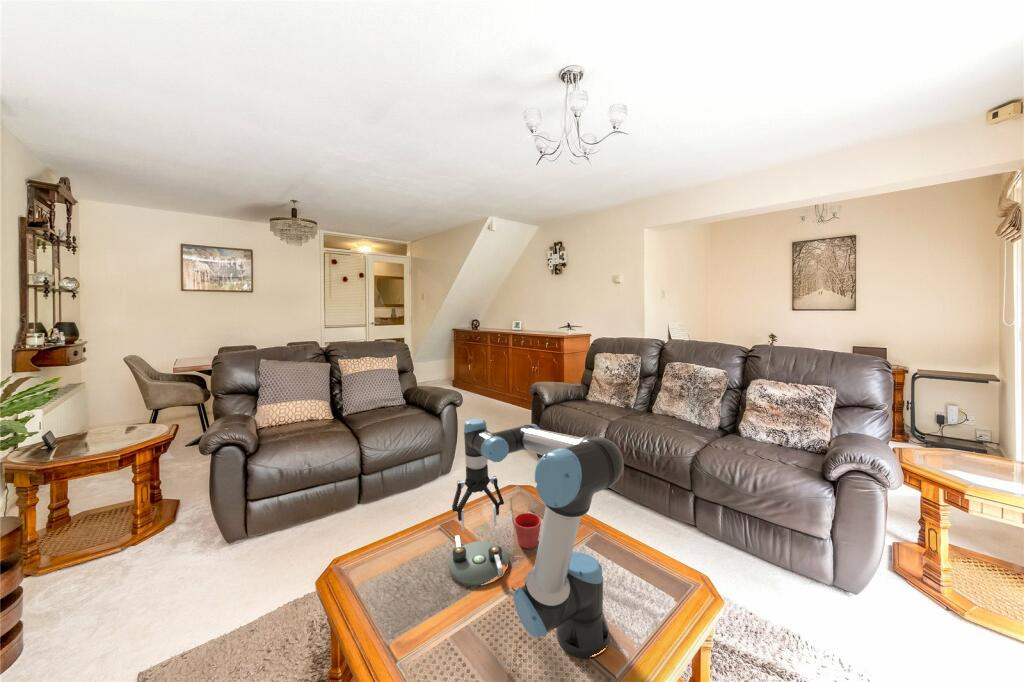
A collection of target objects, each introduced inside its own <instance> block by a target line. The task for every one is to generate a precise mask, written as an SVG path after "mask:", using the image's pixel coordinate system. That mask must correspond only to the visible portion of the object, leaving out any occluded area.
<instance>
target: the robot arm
mask: <svg viewBox="0 0 1024 682" xmlns="http://www.w3.org/2000/svg"><path fill="white" fill-rule="evenodd" d="M463 425H464V427H463V435H464V437H463V439H464V453H465V454H464V455H465V456H464V458H465V459H464V462H465V480H463V481H461V480H457V481H456V486H457V487H456V491H455V494H454V499H453V501H452V505H451V509H452V512H454V513H455V512H457V520H458V522H461V531H462V532H465V513H464V507H465V506H466V504H467V503H468V500H469V498H470V497H471V496H472V495H473V494H474V493H477V492H479V493H483V492H484V493H485V494H486V495H487V496H488V498H489V500H490V501H491V502H492V523H493V526H494V527H496V526H497V525H498V523H497V516H499V515H500V506H502V505H504V504H505V500H504V498H503V496H502V493H501V491H500V487H499V485H498V477H497V476H496V475H493V476H492V477H489V465H488V462H489V461H491V462H493V463H501V462H502V461H503V460H505V458H507V456H508V455H509V454H512V453H516V452H519V451H527V452H530V453H531V452H532V453H534V454H537V455H541V456H542V457H540V459H539V460H538V462H537V464H536V466H535V471H534V483H536V486H535V489H536V492H537V494H538V496H539V498H540V499H541V500H542V502H543V505H544V506H545V509H544V515H543V519H542V524H541V528H540V533H539V538H538V544H537V551H536V557H535V560H534V561H535V562H534V566H533V567H531V568H530V569H529V570H528V572H527V574H526V577H525V581H524V585H523V586H521V587H520V586H518V588H517V589H516V590H515V591H514V593H513V604H514V607H515V610H516V613H517V616H518V619H519V620H520V623H521V625H522V626H523V627H524V630H526V632H527V633H528V634H529V635H530V636H531V637H533V638H536V639H537V638H541V637H542V636H544V635H548V633H550V632H552V631H553V630H556V632H555V634H556V639H557V641H558V644H559V645H560V647H561V648H562V649H563V650H564V651H565V652H567V653H568V654H570V655H571V656H573V657H577V658H579V659H580V658H581V659H590V658H589V657H590V656H592V655H594V654H597V653H599V652H600V651H601V650H603V649H604V648H606V646H607V645H608V646H609V644H610V630H609V625H608V623H607V620H606V617H605V613H604V611H603V609H604V576H603V568H602V565H601V563H600V562H599V561H598V560H597V559H596V558H595V557H594V556H592V555H590V554H588V553H585V552H581V551H574V548H575V547H574V546H575V543H576V539H577V535H578V530H579V526H580V521H581V517H583V516H585V515H587V514H588V512H589V510H590V508H591V504H592V501H593V500H592V499H593V496H594V494H596V493H599V492H601V491H603V490H605V489H608V488H611V487H612V486H614V485H615V484H616V483H617V482H618V481H619V479H620V478H621V476H622V475H623V471H624V467H625V466H624V462H625V461H624V458H623V454H622V452H621V450H620V448H619V447H618V445H617V444H616V443H615V442H614V441H612V440H610V439H608V438H605V437H601V436H597V435H593V434H592V435H591V434H590V435H585V436H582V437H580V436H575V435H570V434H565V433H560V432H555V431H549V430H544V429H541V428H540V427H539V426H538V425H537V424H535V423H531V424H524V425H522V426H517V427H512V428H509V429H504V430H501V431H500V430H499V431H497V432H491V431H489V430H488V426H487V421H485V419H482V418H472V419H469V420H466V421H465V422H464V423H463ZM488 460H489V461H488ZM490 483H491V484H492V485H493V487H494V489H495V492H496V495H497V498H498V500H497V498H496V497H495V496H494V494H493V492H491V490H490V488H489V487H488V485H489V484H490ZM464 486H466V491H465V493H464V494H463V496H462V498H461V500H460V497H461V494H462V489H463V488H464Z"/></svg>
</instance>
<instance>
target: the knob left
mask: <svg viewBox="0 0 1024 682" xmlns="http://www.w3.org/2000/svg"><path fill="white" fill-rule="evenodd" d="M454 537H455V538H454V540H455V547H454V548H453V549H452V554H453V561H454V562H456V563H461V562H464V561H465V560H466V549H465V548H464V547H461V538H460V534H458V535H455V536H454Z"/></svg>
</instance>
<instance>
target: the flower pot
mask: <svg viewBox="0 0 1024 682" xmlns="http://www.w3.org/2000/svg"><path fill="white" fill-rule="evenodd" d="M513 521H514V526H515V532H516V537H517V541H518V545H519V546H520V547H522V548H524V549H534V548H535V547H536V546H538V544H539V538H540V533H541V526H542V524H541V523H542V520H541V518H540V516H539V515H537V514H536V513H531V512H523V513H520V514H517V515H516V517H515V518H514V520H513Z"/></svg>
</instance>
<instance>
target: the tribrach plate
mask: <svg viewBox="0 0 1024 682" xmlns="http://www.w3.org/2000/svg"><path fill="white" fill-rule="evenodd" d="M492 546H499V547H501V548H502V559H501V560H500V561H501V564H502V565H505V567H506V566H507V564H508V563H509V564H510V561H509V559H510V558H509V554H508V552H507V550H506V549H505V548H504V547H503V546H502V545H500V544H498V543H495V542H493V541H486V540H485V541H483V540H481V541H479V540H478V541H473V542H468V543H465V544H464V545H462V546H461V547H464V548H465V549H466V560H465V561H464V562H461V563H456V562H454V561H453V553H452V554H451V556H450V558H449V560H448V561H449V563H448V568H449V573H450V576H451V577H452V578H453V579H454V580H455V581H456V582H458V583H460V584H461V585H465V586H468V587H469V586H470V587H479V586H478V585H481V584H484V583H486V582H488V581H490V580H491V579H493V578H494V577H496V576H497V575H498V574H497V570H496V566H495V562H491V561H490V560H489V553H488V550H489V548H490V547H492Z"/></svg>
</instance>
